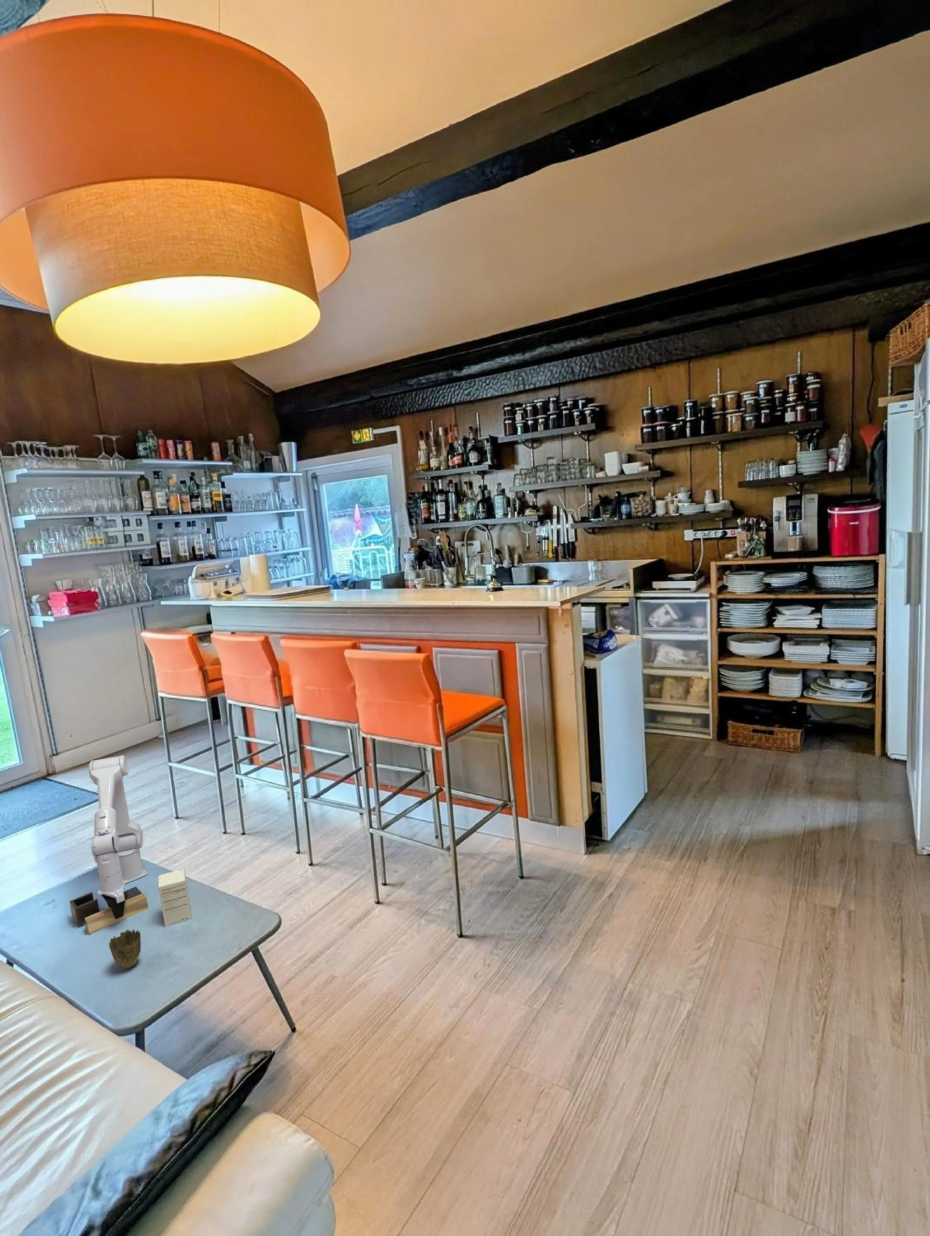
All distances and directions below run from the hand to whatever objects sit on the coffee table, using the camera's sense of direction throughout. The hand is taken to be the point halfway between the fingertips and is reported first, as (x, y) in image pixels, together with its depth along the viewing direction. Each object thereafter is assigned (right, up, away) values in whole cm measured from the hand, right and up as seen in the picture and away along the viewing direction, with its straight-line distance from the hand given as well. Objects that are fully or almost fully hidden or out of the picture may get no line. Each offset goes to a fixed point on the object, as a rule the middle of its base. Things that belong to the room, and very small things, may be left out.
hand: (117, 914), depth 191 cm
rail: (0, -2, 0) cm, 2 cm away
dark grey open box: (-10, -2, +2) cm, 10 cm away
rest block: (-1, 0, +10) cm, 10 cm away
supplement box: (+18, 0, 0) cm, 18 cm away
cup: (+14, -4, -21) cm, 25 cm away
